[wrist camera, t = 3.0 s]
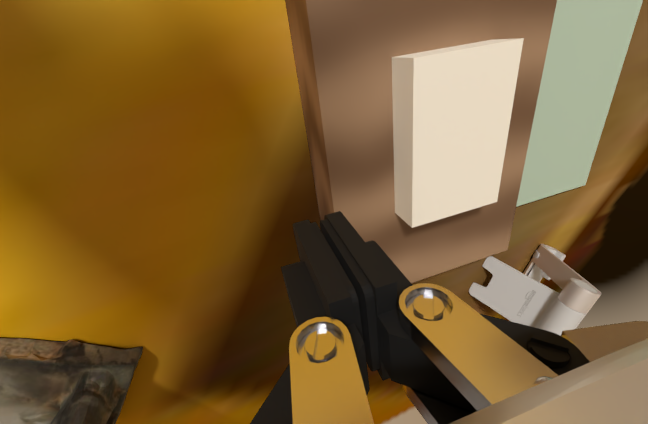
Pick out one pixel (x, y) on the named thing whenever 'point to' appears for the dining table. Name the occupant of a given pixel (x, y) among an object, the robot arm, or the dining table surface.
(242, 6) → the dining table surface
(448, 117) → the cream rectangular block
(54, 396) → the statue
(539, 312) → the portable electronic device stand
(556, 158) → the mat
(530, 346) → the robot arm
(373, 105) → the deck
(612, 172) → the dining table surface
